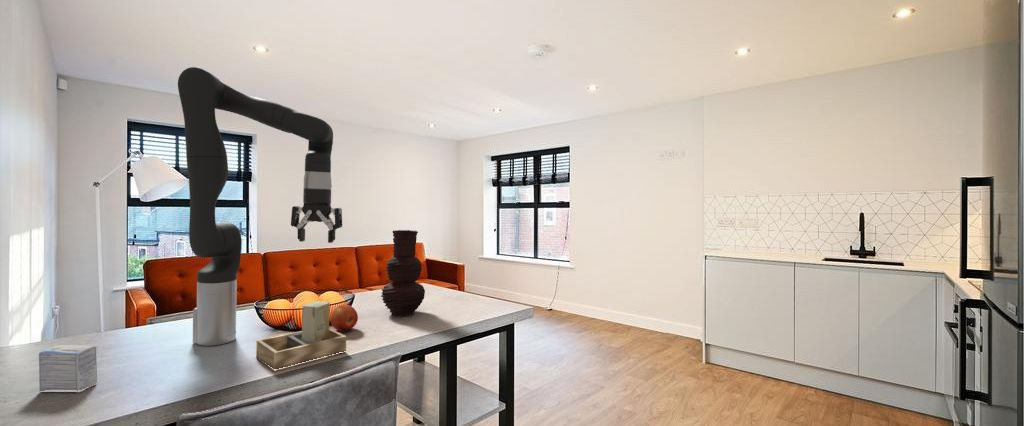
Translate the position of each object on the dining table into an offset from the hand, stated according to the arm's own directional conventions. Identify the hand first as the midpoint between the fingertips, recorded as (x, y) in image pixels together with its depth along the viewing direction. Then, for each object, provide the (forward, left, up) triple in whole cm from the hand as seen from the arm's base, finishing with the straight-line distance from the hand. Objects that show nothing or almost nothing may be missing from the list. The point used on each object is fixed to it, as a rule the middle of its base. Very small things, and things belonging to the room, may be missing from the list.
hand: (316, 241), depth 129 cm
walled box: (+4, -16, -28) cm, 33 cm away
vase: (+20, +26, -28) cm, 43 cm away
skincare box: (+6, -13, -28) cm, 31 cm away
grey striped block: (-34, -39, -28) cm, 59 cm away
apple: (+7, +5, -28) cm, 30 cm away
